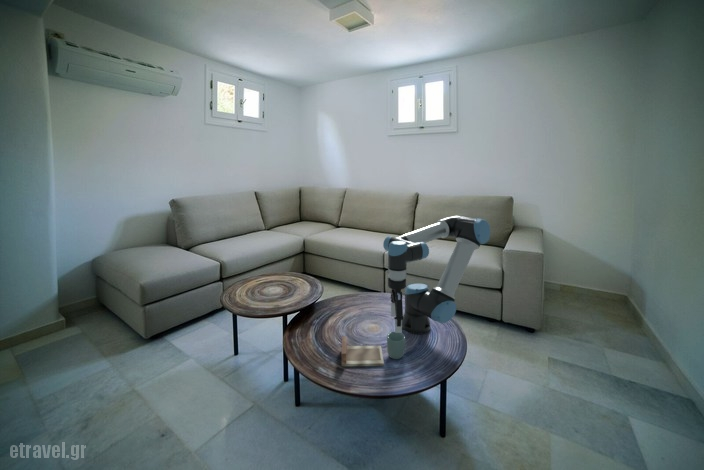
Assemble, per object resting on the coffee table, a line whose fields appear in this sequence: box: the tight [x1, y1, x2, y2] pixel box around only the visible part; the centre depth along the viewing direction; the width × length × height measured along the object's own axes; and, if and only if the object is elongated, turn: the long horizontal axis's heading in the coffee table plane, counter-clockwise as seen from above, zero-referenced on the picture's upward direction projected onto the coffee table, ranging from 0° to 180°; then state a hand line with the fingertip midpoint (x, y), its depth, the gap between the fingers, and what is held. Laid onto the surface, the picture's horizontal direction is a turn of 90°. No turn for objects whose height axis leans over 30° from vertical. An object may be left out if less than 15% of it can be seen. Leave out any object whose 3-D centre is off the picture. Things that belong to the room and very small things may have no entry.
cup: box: [386, 331, 406, 360], centre depth 134 cm, size 8×8×10 cm
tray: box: [341, 336, 385, 367], centre depth 135 cm, size 18×13×6 cm
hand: (396, 323), depth 131 cm, fingers open, 13 cm apart
